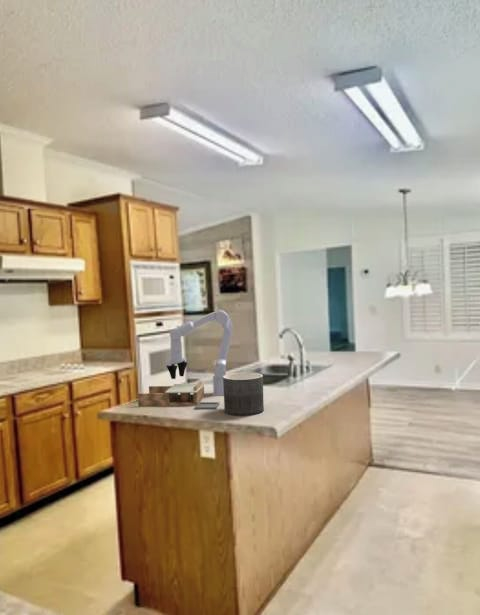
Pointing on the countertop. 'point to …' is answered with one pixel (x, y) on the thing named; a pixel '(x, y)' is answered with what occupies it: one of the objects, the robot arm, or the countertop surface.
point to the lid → (185, 388)
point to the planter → (243, 393)
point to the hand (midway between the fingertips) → (177, 377)
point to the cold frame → (167, 397)
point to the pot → (185, 397)
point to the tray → (207, 405)
